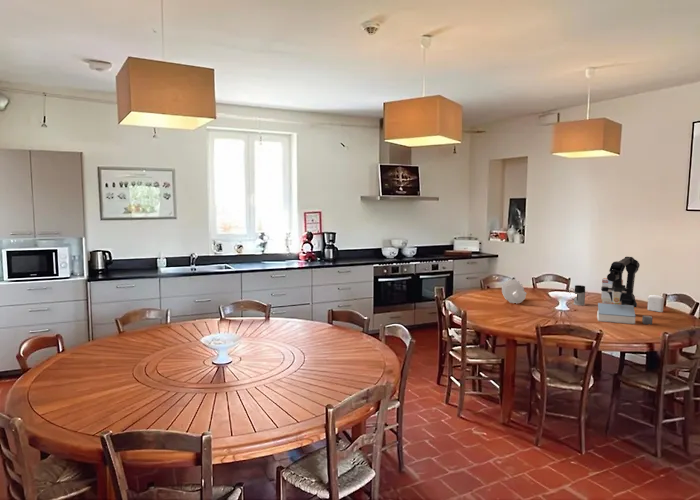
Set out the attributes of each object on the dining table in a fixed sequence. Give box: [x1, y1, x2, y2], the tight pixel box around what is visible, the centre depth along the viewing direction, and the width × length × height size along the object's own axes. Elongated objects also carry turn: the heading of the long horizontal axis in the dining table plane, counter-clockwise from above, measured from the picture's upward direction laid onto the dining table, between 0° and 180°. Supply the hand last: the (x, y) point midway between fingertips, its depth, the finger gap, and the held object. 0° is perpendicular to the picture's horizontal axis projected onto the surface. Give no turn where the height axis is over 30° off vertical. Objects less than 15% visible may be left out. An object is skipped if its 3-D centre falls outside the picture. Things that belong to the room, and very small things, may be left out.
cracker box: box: [600, 277, 624, 305], centre depth 370 cm, size 14×6×21 cm, turn 50°
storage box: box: [596, 310, 636, 325], centre depth 322 cm, size 12×22×5 cm, turn 66°
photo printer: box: [647, 294, 665, 313], centre depth 349 cm, size 10×4×12 cm, turn 39°
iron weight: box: [641, 315, 654, 326], centre depth 314 cm, size 5×5×5 cm
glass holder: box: [568, 284, 586, 306], centre depth 371 cm, size 9×14×15 cm, turn 104°
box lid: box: [597, 302, 636, 318], centre depth 320 cm, size 12×22×1 cm, turn 66°
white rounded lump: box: [501, 278, 528, 304], centre depth 383 cm, size 18×18×25 cm
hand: (615, 301), depth 323 cm, fingers open, 5 cm apart
